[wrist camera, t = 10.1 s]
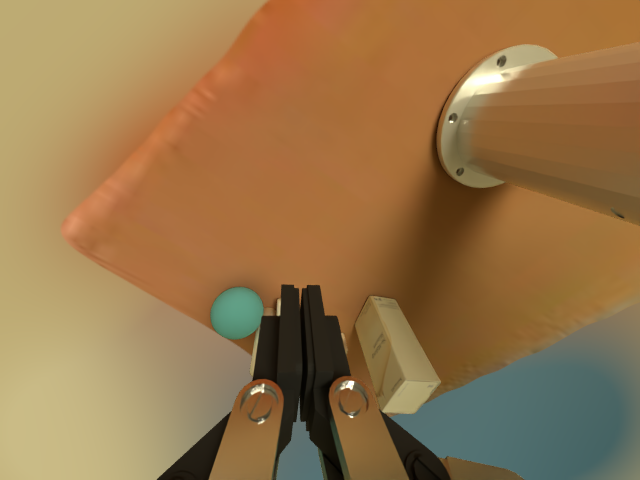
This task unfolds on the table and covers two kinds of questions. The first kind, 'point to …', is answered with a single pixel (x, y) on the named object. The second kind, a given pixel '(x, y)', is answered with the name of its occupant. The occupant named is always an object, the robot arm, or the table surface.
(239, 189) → the table surface
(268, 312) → the pin
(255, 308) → the ball
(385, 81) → the table surface
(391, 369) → the skincare box
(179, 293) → the table surface
